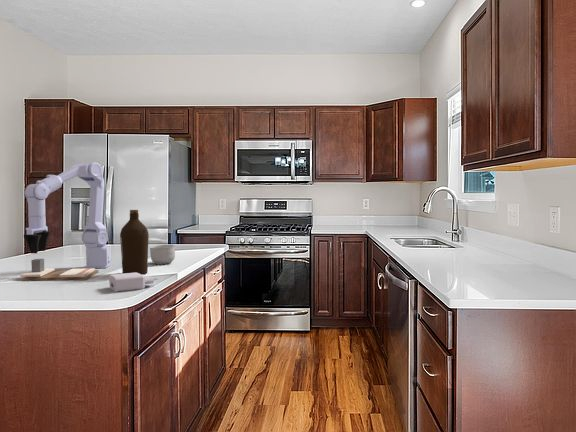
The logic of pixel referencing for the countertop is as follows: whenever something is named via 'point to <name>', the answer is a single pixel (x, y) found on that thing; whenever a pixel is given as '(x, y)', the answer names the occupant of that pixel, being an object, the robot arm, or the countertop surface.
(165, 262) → the teacup
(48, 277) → the board
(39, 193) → the robot arm
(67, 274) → the ticket
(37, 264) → the stub
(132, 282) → the charger
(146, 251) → the olive oil
